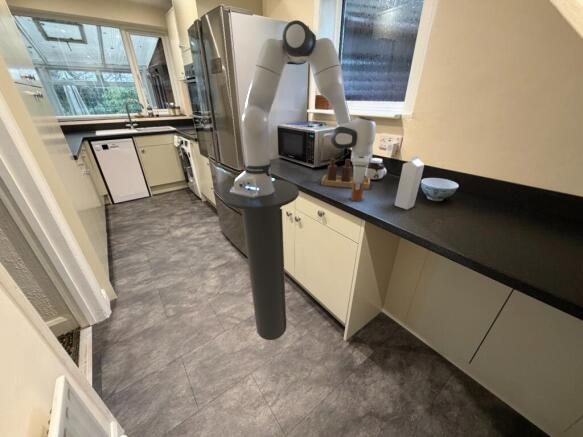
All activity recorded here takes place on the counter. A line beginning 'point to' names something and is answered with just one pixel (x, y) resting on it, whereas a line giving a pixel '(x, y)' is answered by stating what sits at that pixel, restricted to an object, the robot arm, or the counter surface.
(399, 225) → the counter surface
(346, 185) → the tray
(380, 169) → the spread jar
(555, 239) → the counter surface
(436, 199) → the chinaware
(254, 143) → the robot arm
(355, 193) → the amber bottle
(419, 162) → the milk
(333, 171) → the bottle
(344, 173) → the bottle
